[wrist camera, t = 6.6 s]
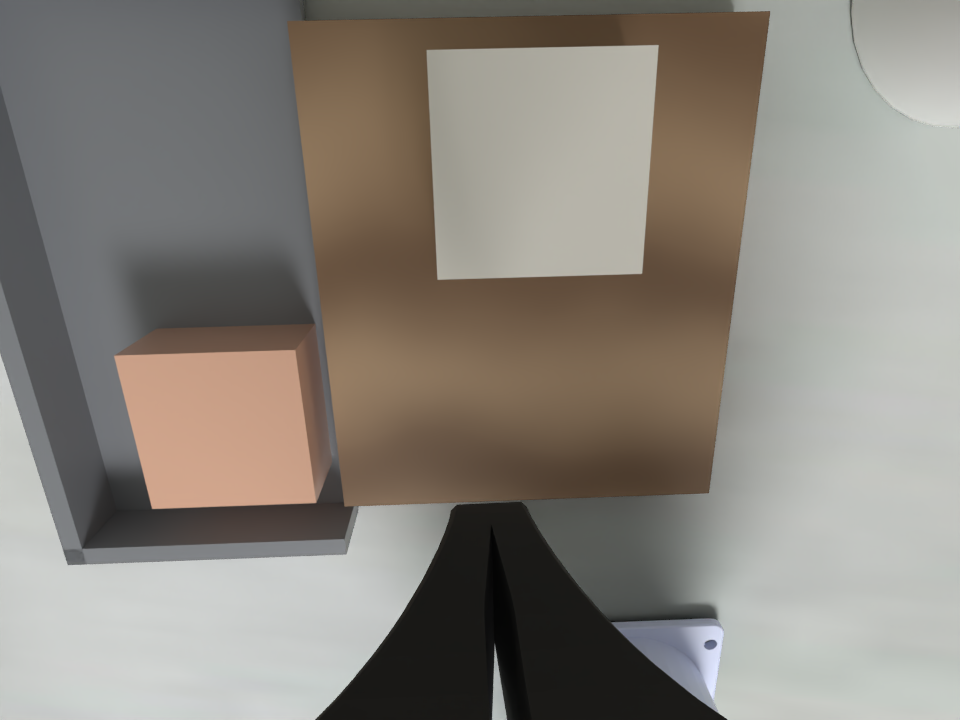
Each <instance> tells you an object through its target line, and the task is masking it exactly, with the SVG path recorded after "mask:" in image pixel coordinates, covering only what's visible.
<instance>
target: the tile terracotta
mask: <svg viewBox="0 0 960 720" xmlns="http://www.w3.org/2000/svg"><path fill="white" fill-rule="evenodd" d="M114 358H115V362H116V366H117V370H118V374H119V378H120V382H121V386H122V390H123V394H124V398H125V402H126V406H127V410H128V414H129V418H130V422H131V426H132V430H133V434H134V438H135V442H136V446H137V450H138V454H139V458H140V462H141V466H142V470H143V474H144V478H145V482H146V486H147V490H148V494H149V498H150V502H151V506H152V509H165V508H193V507H220V506H247V505H275V504H302V503H316V502H317V500H318V497H319V495H320V492H321V490H322V487H323V484H324V482H325V479H326V477H327V474H328V472H329V469H330V467H331V464H332V455H331V447H330V439H329V431H328V423H327V414H326V406H325V398H324V390H323V382H322V374H321V366H320V357H319V349H318V341H317V333H316V325H315V324H292V325H259V326H226V327H194V328H161V329H155V330H154V331H152V332H150V333H149V334H147V335H146V336H144V337H143V338H141V339H139V340H138V341H136V342H135V343H133V344H132V345H130V346H128V347H127V348H125V349H124V350H122V351H121V352H119V353H117V354H116V355H114Z"/></svg>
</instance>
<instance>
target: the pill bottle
mask: <svg viewBox="0 0 960 720" xmlns="http://www.w3.org/2000/svg"><path fill="white" fill-rule="evenodd" d="M851 17H852V27H853V37H854V44H855V47H856V50H857V54H858V57H859V60H860V63H861V67H862V69H863V71H864V72H865V74H866V76H867V78H868V79H869V81H870V83H871V85H872V86H873V88H874V90H875V91H876V92H877V93H878V94H879V95H880V96H881V97H882V98H883V99H884V100H885V101H886V102H887V103H888V105H889V106H890V107H892V108H893V109H895V110H897V111H898V112H900V113H901V114H903V115H905V116H906V117H908V118H909V119H912V120H915V121H918V122H921V123H924V124H927V125H930V126H936V127H948V128H960V0H852V9H851Z"/></svg>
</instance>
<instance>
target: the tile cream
mask: <svg viewBox="0 0 960 720" xmlns="http://www.w3.org/2000/svg"><path fill="white" fill-rule="evenodd" d="M658 47H659V45H639V46H592V47H544V48H497V49H450V50H427V71H428V92H429V113H430V134H431V155H432V176H433V197H434V217H435V238H436V259H437V280H447V279H482V278H516V277H551V276H585V275H620V274H642V269H643V255H644V241H645V227H646V213H647V199H648V185H649V172H650V158H651V144H652V130H653V116H654V102H655V88H656V75H657V61H658Z"/></svg>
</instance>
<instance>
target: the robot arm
mask: <svg viewBox="0 0 960 720" xmlns="http://www.w3.org/2000/svg"><path fill="white" fill-rule="evenodd" d="M723 636H724V630H723V628H722V626H721V624H720V623H719V621H718V620H716V619H711V618H707V619H683V620H658V621H634V622H610V621H609V620H608V619H607V618H606V617H605V616H604V615H603V613H602V612H601V611H600V610H599V609H598V608H597V607H596V606H595V605H594V603H593V602H592V601H591V600H590V599H589V597H588V596H587V595H586V594H585V593H584V592H583V590H582V589H581V588H580V587H579V586H578V584H577V583H576V582H575V581H574V579H573V578H572V577H571V576H570V574H569V573H568V571H567V570H566V569H565V567H564V566H563V565H562V563H561V562H560V561H559V559H558V558H557V557H556V555H555V554H554V552H553V551H552V549H551V548H550V547H549V545H548V544H547V542H546V540H545V539H544V537H543V536H542V534H541V533H540V531H539V529H538V528H537V526H536V524H535V522H534V521H533V519H532V517H531V515H530V513H529V511H528V509H527V507H526V506H525V505H524V504H523V503H522V502H509V503H487V504H464V505H456V506H455V507H454V508H453V509H452V510H451V514H450V519H449V522H448V525H447V528H446V531H445V533H444V536H443V538H442V540H441V543H440V545H439V547H438V550H437V552H436V554H435V556H434V558H433V560H432V562H431V564H430V566H429V568H428V570H427V572H426V574H425V576H424V578H423V580H422V581H421V583H420V585H419V587H418V588H417V590H416V592H415V593H414V595H413V597H412V598H411V600H410V602H409V603H408V605H407V607H406V608H405V610H404V612H403V613H402V615H401V616H400V618H399V619H398V621H397V622H396V624H395V625H394V627H393V628H392V630H391V631H390V632H389V634H388V635H387V637H386V638H385V639H384V641H383V642H382V643H381V645H380V646H379V647H378V649H377V650H376V652H375V653H374V654H373V655H372V657H371V658H370V659H369V660H368V662H367V663H366V664H365V665H364V666H363V668H362V669H361V670H360V671H359V672H358V674H357V675H356V676H355V677H354V679H353V680H352V681H351V682H350V683H349V684H348V686H347V687H346V688H345V689H344V690H343V691H342V692H341V694H340V695H339V696H338V697H337V698H336V699H335V700H334V701H333V702H332V703H331V704H330V705H329V706H328V707H327V708H326V709H325V710H324V711H323V712H322V713H321V714H320V715H319V716H318V717H317V718H316V720H492V703H493V675H494V645H495V647H496V653H497V659H498V666H499V672H500V678H501V684H502V690H503V696H504V703H505V709H506V715H507V720H727V719H726V718H724V717H723V716H722V715H720V714H719V713H718V710H717V708H716V706H715V704H714V695H715V689H716V682H717V676H718V669H719V663H720V656H721V649H722V643H723ZM711 639H712V640H711ZM708 640H710V641H708ZM706 641H708V642H706Z"/></svg>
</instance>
